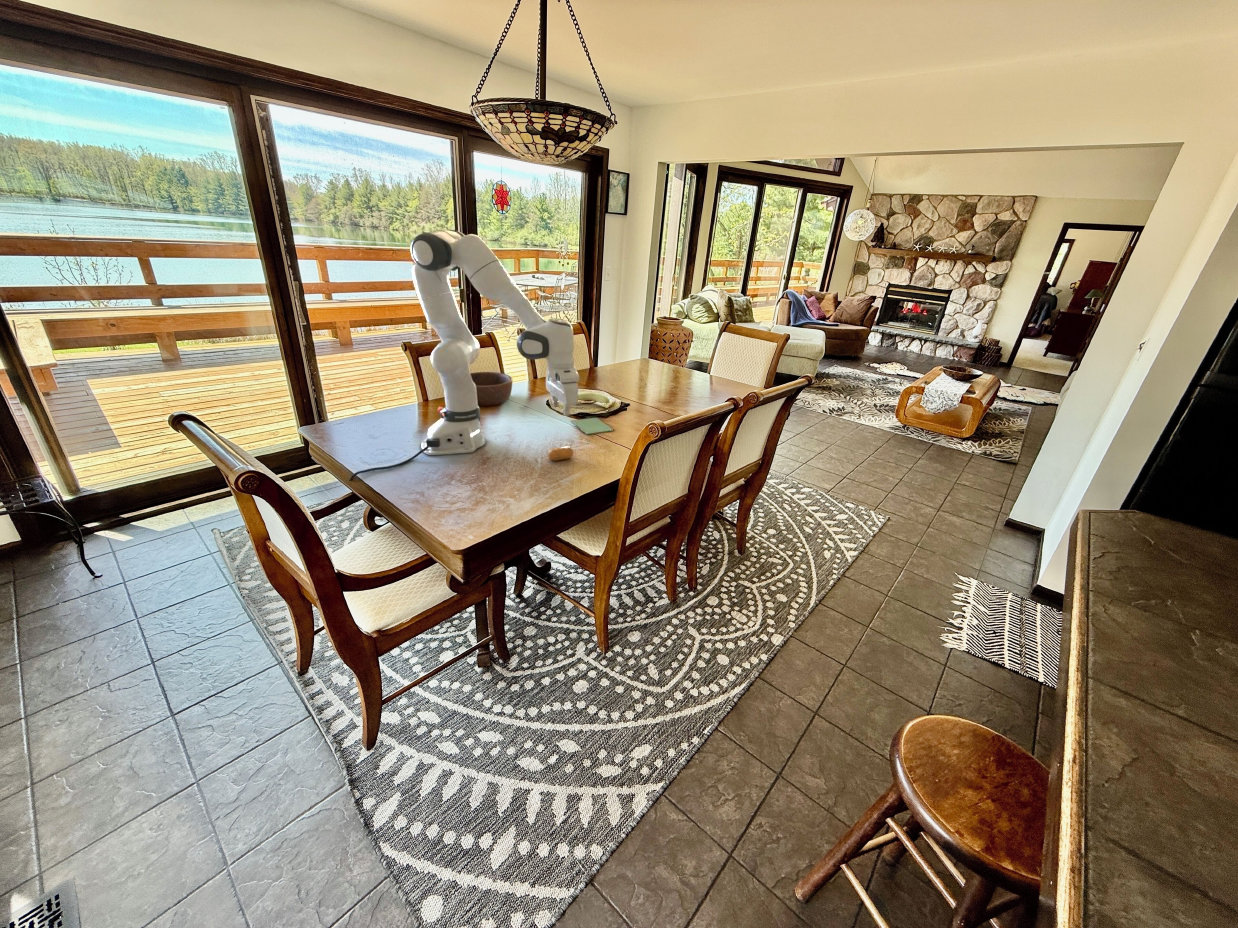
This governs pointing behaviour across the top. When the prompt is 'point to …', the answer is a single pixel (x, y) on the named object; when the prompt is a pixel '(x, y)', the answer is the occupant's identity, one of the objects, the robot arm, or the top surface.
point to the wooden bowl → (492, 387)
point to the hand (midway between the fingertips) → (560, 410)
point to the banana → (593, 397)
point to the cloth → (592, 425)
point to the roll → (560, 453)
